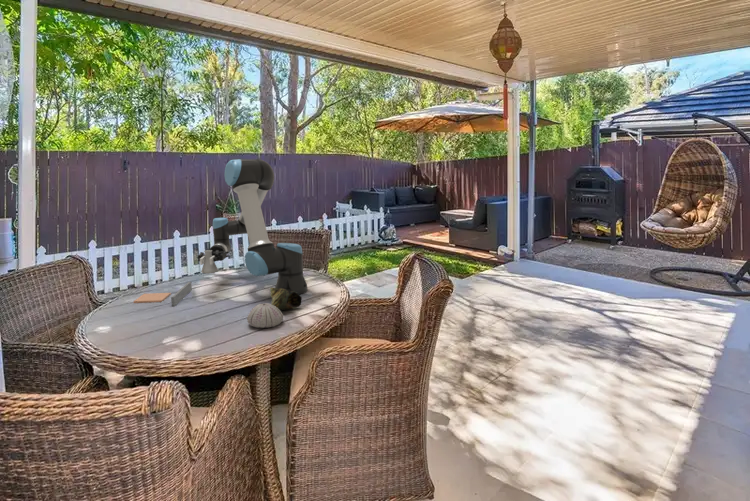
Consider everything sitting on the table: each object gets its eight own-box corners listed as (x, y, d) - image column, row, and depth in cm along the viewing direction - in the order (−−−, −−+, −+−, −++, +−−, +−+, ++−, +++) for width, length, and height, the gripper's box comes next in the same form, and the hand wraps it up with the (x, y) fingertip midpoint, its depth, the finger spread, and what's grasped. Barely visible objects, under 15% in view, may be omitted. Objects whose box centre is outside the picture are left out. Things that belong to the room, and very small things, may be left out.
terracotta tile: (144, 295, 208) (144, 293, 208) (171, 294, 210) (170, 292, 209) (133, 303, 196) (133, 301, 196) (162, 301, 198) (161, 300, 198)
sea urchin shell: (250, 319, 175) (249, 299, 174) (285, 317, 177) (284, 298, 175) (244, 331, 162) (243, 310, 161) (282, 329, 164) (281, 308, 162)
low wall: (189, 289, 217) (188, 281, 216) (191, 289, 217) (191, 281, 216) (171, 306, 192) (171, 297, 191) (174, 306, 192) (173, 297, 191)
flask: (211, 269, 209) (210, 248, 207) (221, 271, 205) (220, 250, 203) (198, 272, 203) (196, 251, 201) (208, 274, 199) (206, 252, 197)
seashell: (293, 315, 179) (292, 291, 177) (267, 314, 181) (266, 290, 179) (303, 307, 189) (302, 284, 187) (277, 306, 191) (276, 283, 189)
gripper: (235, 258, 222) (225, 269, 199) (201, 259, 220) (187, 270, 197) (234, 243, 220) (224, 252, 198) (199, 244, 219) (185, 253, 196)
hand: (205, 261), depth 197 cm, fingers closed on flask, 3 cm apart
